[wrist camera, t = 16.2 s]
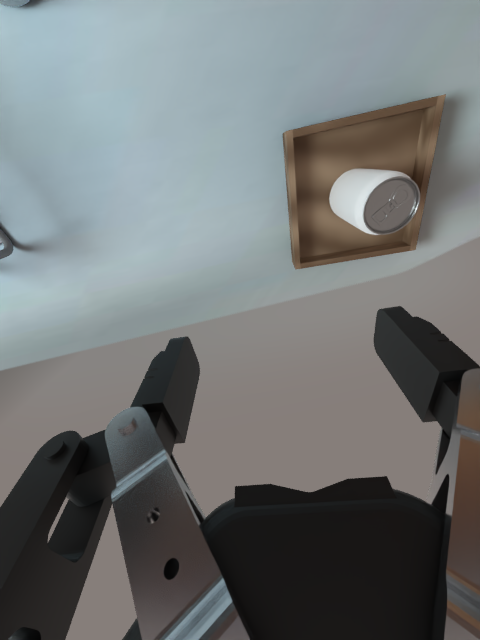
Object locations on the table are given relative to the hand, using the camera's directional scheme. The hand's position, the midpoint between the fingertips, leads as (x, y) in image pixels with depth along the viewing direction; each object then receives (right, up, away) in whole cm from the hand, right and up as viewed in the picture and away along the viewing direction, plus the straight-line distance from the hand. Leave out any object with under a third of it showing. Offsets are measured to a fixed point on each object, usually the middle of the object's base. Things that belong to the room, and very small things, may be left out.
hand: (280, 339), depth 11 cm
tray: (+14, +20, +26) cm, 36 cm away
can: (+14, +19, +25) cm, 35 cm away
